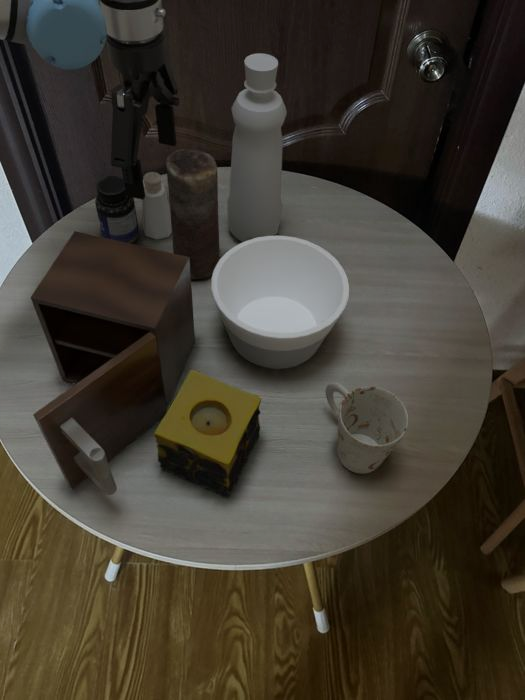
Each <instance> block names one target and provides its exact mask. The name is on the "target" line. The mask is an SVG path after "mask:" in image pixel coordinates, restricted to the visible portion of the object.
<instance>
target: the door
mask: <svg viewBox="0 0 525 700" xmlns="http://www.w3.org/2000/svg"><path fill="white" fill-rule="evenodd" d="M167 408H168V407H166V402H165V395H164V389H163V382H162V376H161V369H160V363H159V356H158V350H157V343H156V337H155V336H154V335H153V334H152V333H151V332H149V333H147V334H146V335H145V336H143V337H142V338H140V339H139V340H138V341H136V342H135V343H133V344H132V345H131V346H129V347H128V348H126V349H125V350H123V351H122V352H121V353H119V354H118V355H116V356H115V357H114V358H112V359H111V360H109V361H108V362H107V363H105V364H104V365H102V366H101V367H99V368H98V369H97V370H95V371H94V372H92V373H91V374H90V375H88V376H87V377H85V378H84V379H82V380H81V381H80V382H78V383H77V384H75V383H74V385H73V386H71V387H69V388H68V389H67V390H66V391H64V392H63V393H61V394H60V395H59V396H57V397H56V398H54V399H52V400H51V401H50V402H49V403H47V404H45V405H44V406H43V407H41V408H40V409H38V410H37V411H36V412H35V413H33V415H32V416H33V417H34V420H35V421H36V424H37V426H38V428H39V430H40V432H41V435H42V436H43V438H44V440H45V441H46V443H47V445H48V446H47V447H48V448H49V450H50V452H51V454H52V455H53V458H54V459H55V463H56V464H57V466H58V468H59V471H60V472H61V474H62V476H63V478H64V480H65V483H67V485H68V486H69V488H70V489H71V490H74V489H75V488H76V487H78V486H79V485H80V484H81V483H83V482H84V481H85V480H86V479H88V478H89V479H90V480H91V481H92V482H93V483H94V484H95V485H96V486H97V488H99V490H100V491H101V492H102V493H103V494H104V495H105V496H113V495H114V494H115V493H117V491H118V490H117V489H118V486H117V484H116V481H115V477H114V475H113V472H112V470H111V466H110V464H109V463H110V462H109V461H111V460H112V459H113V458H115V457H116V456H117V455H118V454H119V453H120V452H121V451H123V450H124V449H126V447H128V446H129V445H130V444H132V443H133V442H134V441H136V440H137V439H138V438H139V437H141V436H142V434H144V433H146V431H148V430H149V429H151V428H152V427H153V426H154V425H156V424H157V423H158V422H160V420H162V419H163V418H164V416H165V414H166V413H167V411H168V409H167Z"/></svg>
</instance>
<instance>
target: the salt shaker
mask: <svg viewBox="0 0 525 700" xmlns="http://www.w3.org/2000/svg"><path fill="white" fill-rule="evenodd" d="M142 177H143V184H144V191H145V198H144V200H143V199H141V220H142V221H141V222H142V230H143V233H144V235H145V236H146V237H147V238H150V239H153V240H156V241H158V240H161V239H166V238H169V237H170V235H172V228H171V213H170V203H169V198H168V196H167V192H166V188H165V187H164V185H163V184H162V176H161V174H160V173H158V172H155V171H149V172H147V173H145V174H144V175H143V176H142Z"/></svg>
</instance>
